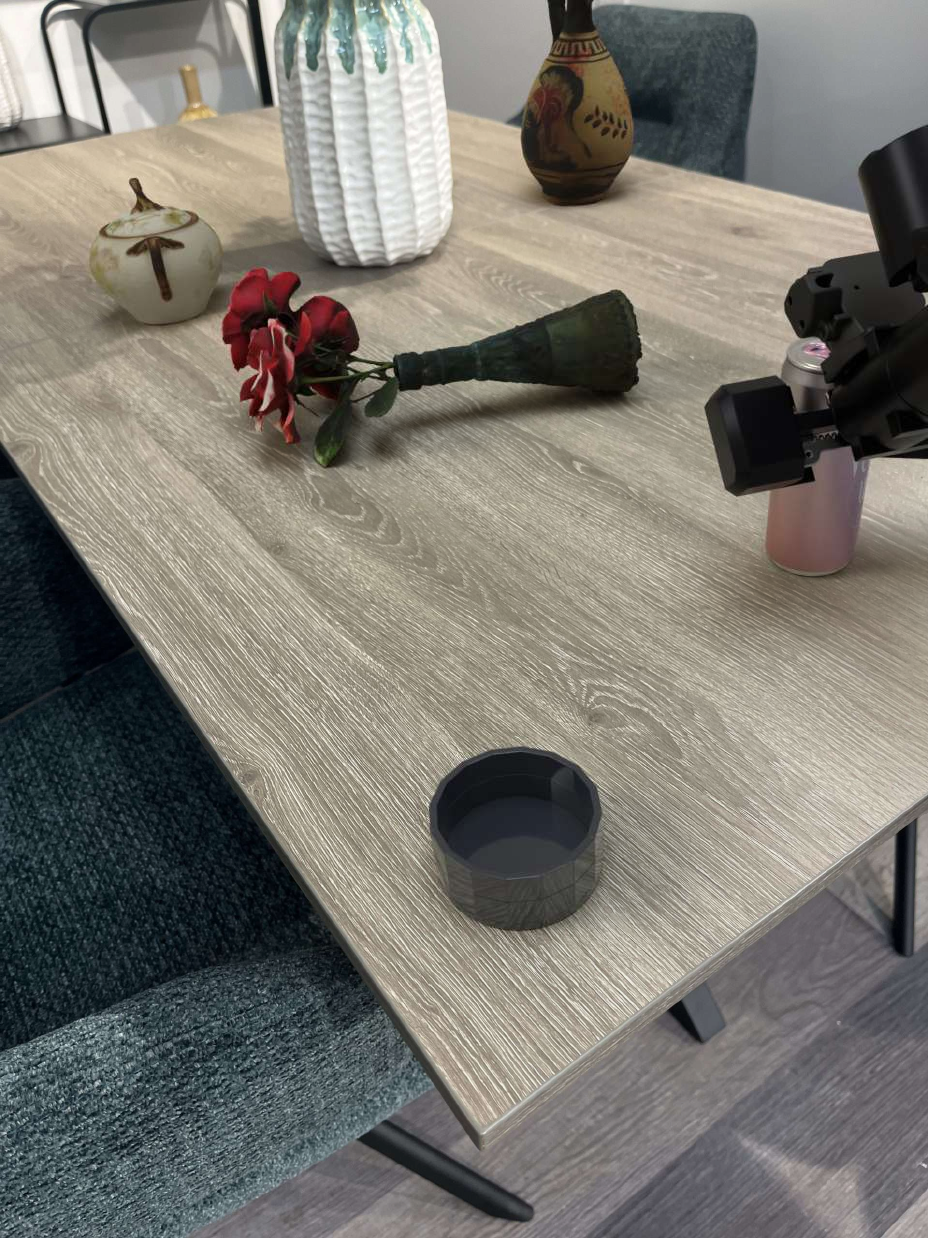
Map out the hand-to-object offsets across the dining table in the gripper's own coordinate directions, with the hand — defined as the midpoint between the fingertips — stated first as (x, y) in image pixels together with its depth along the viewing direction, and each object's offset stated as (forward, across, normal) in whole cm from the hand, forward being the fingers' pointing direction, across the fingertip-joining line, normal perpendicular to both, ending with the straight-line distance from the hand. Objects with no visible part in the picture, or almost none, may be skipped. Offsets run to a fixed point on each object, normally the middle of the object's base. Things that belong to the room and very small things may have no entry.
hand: (809, 456), depth 67 cm
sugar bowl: (+54, +45, -44) cm, 83 cm away
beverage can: (+4, 0, +6) cm, 7 cm away
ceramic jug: (+69, -12, -58) cm, 91 cm away
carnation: (+27, +20, -16) cm, 37 cm away
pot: (-10, +26, +20) cm, 34 cm away
